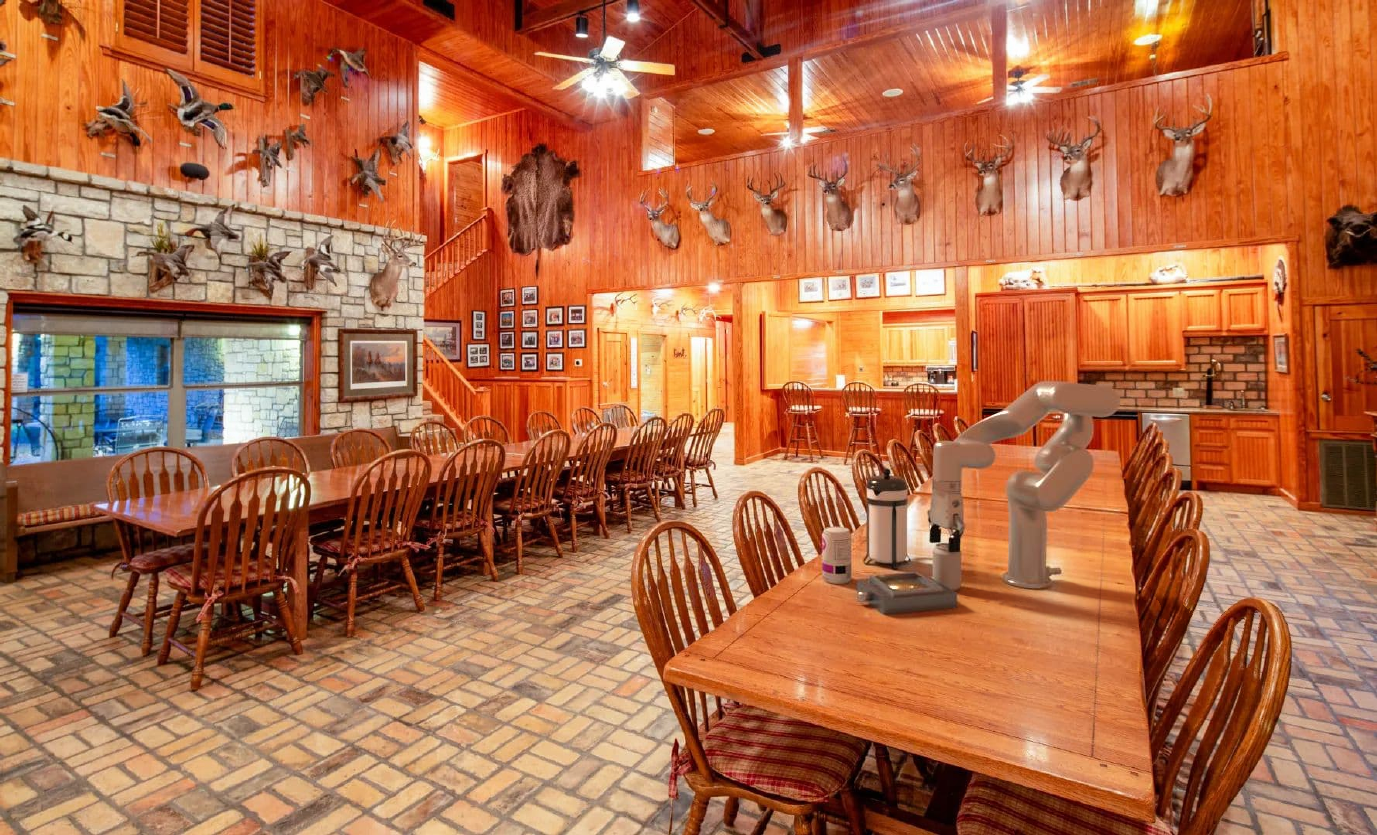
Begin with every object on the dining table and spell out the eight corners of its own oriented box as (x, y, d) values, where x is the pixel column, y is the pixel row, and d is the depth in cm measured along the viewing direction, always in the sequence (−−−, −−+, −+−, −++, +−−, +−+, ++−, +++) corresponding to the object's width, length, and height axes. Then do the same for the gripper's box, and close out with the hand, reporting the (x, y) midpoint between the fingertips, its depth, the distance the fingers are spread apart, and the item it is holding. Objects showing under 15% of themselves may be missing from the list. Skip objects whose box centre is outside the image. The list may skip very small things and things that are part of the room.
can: (963, 592, 183) (964, 549, 182) (934, 591, 185) (934, 548, 184) (958, 583, 191) (958, 542, 190) (930, 582, 192) (930, 541, 191)
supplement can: (820, 583, 194) (819, 531, 193) (825, 574, 201) (825, 525, 200) (848, 586, 191) (848, 534, 189) (853, 577, 198) (852, 527, 197)
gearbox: (924, 587, 188) (924, 569, 187) (956, 608, 172) (957, 588, 172) (846, 594, 184) (846, 575, 183) (872, 615, 168) (872, 595, 168)
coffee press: (922, 569, 204) (922, 471, 202) (869, 570, 204) (868, 472, 202) (904, 553, 221) (904, 463, 219) (855, 554, 221) (855, 464, 219)
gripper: (977, 491, 178) (975, 555, 179) (942, 480, 195) (940, 538, 196) (951, 492, 176) (948, 556, 178) (918, 481, 193) (916, 539, 195)
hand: (944, 547), depth 187 cm, fingers open, 9 cm apart
